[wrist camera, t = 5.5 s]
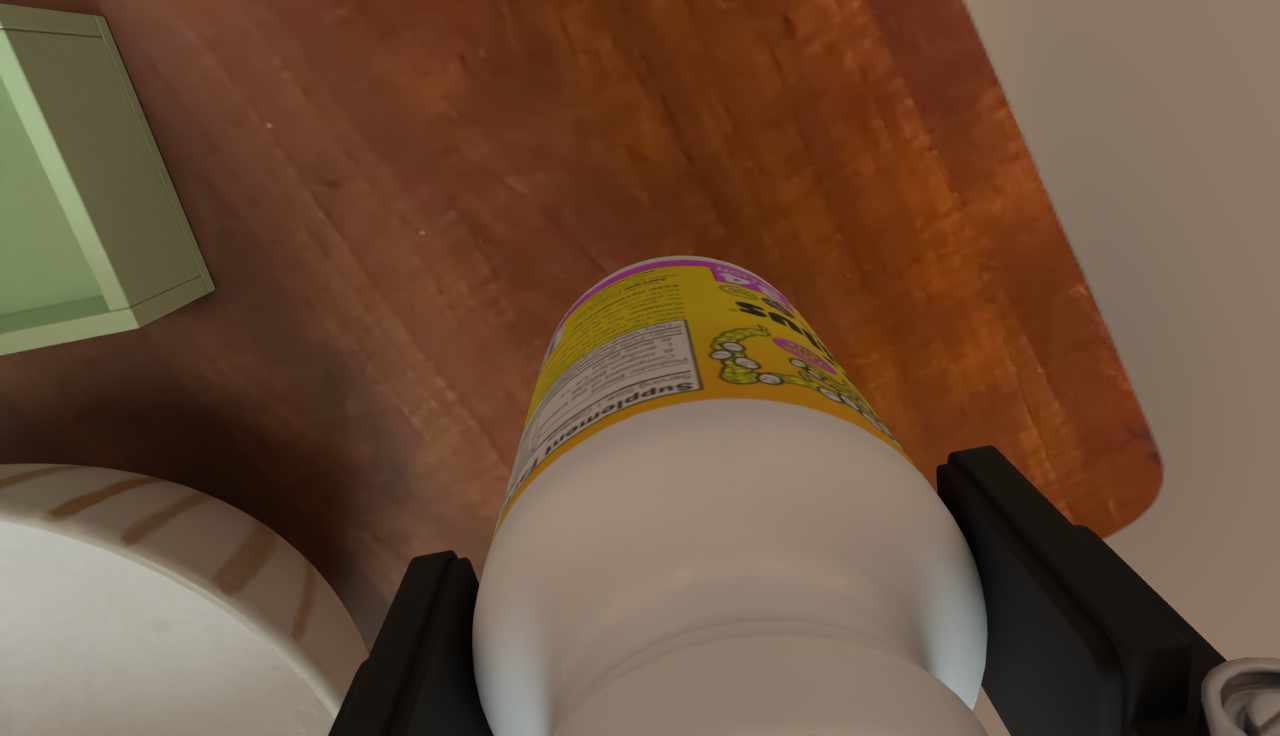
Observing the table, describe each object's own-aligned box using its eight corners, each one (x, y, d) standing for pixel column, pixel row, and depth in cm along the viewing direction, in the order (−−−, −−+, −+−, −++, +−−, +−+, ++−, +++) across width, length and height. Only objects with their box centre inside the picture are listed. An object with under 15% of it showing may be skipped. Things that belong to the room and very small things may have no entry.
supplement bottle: (856, 423, 19) (1266, 1026, 7) (629, 538, 20) (645, 1231, 8) (735, 190, 17) (1027, 483, 5) (488, 333, 18) (215, 867, 6)
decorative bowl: (345, 300, 33) (201, 414, 22) (516, 743, 43) (477, 982, 31) (-204, 428, 35) (-602, 596, 23) (79, 827, 44) (-108, 1084, 33)
